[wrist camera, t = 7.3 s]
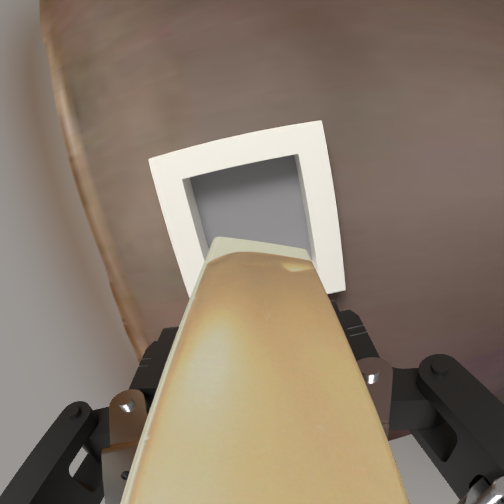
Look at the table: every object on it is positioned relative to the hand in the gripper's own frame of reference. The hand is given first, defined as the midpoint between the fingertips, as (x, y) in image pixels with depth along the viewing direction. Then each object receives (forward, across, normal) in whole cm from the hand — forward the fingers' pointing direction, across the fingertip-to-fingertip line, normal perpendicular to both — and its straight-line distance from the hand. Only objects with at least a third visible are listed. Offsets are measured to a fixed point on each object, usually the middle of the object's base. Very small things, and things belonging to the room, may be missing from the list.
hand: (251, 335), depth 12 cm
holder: (+19, 0, 0) cm, 19 cm away
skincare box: (+3, 0, 0) cm, 3 cm away
